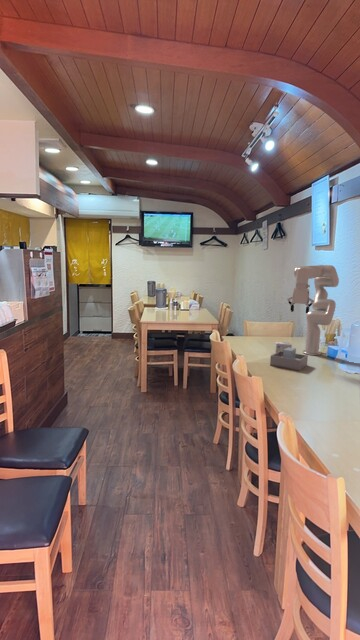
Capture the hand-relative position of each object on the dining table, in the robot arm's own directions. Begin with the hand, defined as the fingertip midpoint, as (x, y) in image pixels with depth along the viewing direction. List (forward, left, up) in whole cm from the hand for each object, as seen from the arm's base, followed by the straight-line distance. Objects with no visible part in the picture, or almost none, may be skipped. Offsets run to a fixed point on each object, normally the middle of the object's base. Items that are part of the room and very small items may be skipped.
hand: (299, 312), depth 247 cm
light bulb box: (-2, -10, -34) cm, 35 cm away
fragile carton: (+14, 0, -30) cm, 33 cm away
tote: (+14, 0, -33) cm, 36 cm away
